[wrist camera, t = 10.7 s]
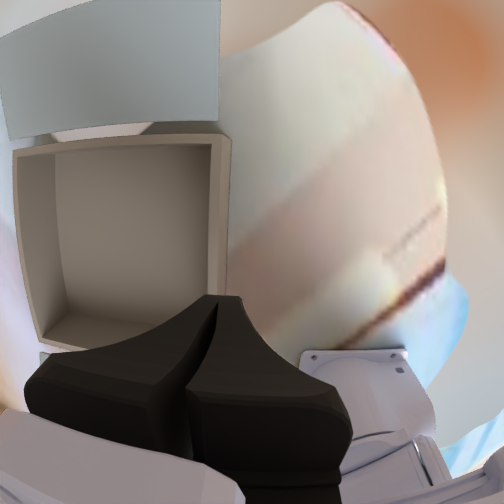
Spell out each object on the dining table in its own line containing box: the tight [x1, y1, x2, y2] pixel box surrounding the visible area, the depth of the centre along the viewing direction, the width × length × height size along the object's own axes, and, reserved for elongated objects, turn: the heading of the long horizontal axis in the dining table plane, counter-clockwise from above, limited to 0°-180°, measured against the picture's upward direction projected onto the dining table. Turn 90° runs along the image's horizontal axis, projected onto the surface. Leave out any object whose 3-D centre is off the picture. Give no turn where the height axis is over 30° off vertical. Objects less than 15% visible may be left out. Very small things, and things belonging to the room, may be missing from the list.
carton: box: [13, 134, 232, 351], centre depth 19 cm, size 14×14×5 cm
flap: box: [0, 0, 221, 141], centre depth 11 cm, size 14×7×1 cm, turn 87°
